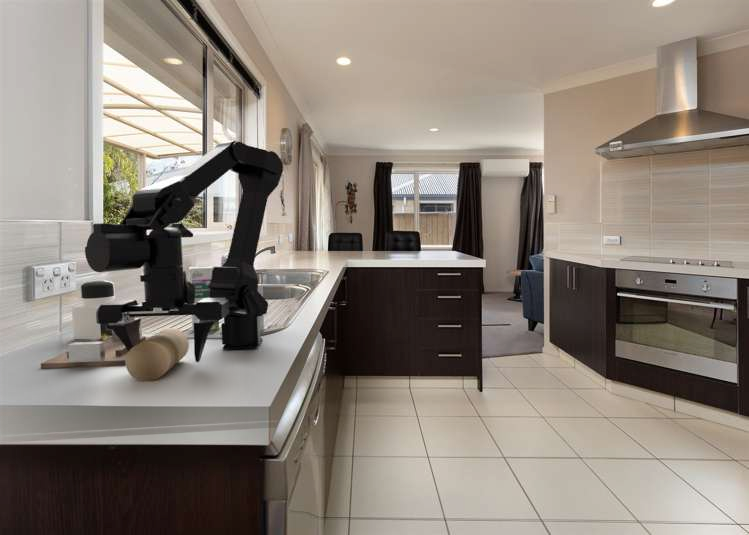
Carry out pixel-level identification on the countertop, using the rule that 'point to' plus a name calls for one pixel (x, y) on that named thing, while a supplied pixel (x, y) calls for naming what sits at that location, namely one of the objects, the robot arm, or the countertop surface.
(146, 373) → the paper roll
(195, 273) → the syrup box
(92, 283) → the medicine bottle
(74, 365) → the holder stand
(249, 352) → the countertop surface
